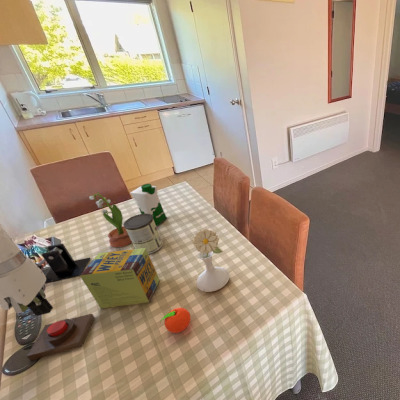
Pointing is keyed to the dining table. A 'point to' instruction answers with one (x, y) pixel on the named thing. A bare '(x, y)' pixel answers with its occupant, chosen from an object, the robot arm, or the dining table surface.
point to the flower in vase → (209, 262)
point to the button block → (62, 338)
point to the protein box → (121, 278)
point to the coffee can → (143, 232)
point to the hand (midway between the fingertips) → (45, 311)
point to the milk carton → (149, 202)
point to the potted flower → (114, 223)
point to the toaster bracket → (63, 264)
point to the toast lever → (45, 260)
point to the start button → (57, 328)
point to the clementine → (177, 320)
